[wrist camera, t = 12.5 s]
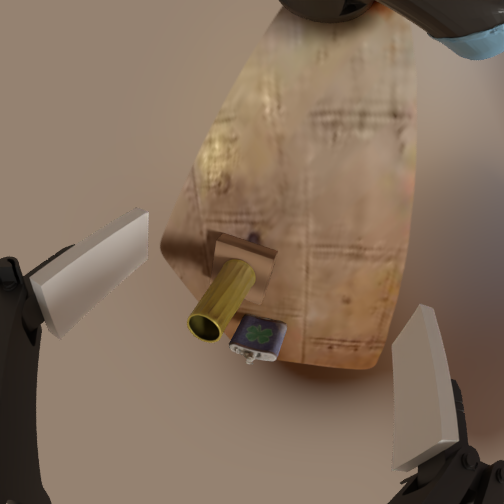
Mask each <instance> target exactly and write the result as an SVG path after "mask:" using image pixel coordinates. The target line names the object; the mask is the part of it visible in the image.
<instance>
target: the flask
mask: <svg viewBox="0 0 504 504" xmlns="http://www.w3.org/2000/svg"><path fill="white" fill-rule="evenodd" d="M286 330H287V324H285V323H283V322H281V321H274V320H271V319H269V318H261V317H256V316H255V315H250V314H246V315H245V316H244V317H243V318H242V320H241V322H240V324H239V326H238V328H237V330H236V332H235V334H234V335H233V337H232V339H231V341H230V343H229V348H230V349H231V351H233V352H236V353H238V354H241V355H244V356H245V358H247V361H248V362H246V363H247V364H250V363H249V362H252V361H253V360H254V359H259V360H267V361H275V360H276V359H277V356H278V353H279V350H280V347H281V344H282V341H283V339H284V336H285V333H286ZM252 364H253V363H252Z"/></svg>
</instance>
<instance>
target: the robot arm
mask: <svg viewBox="0 0 504 504" xmlns="http://www.w3.org/2000/svg"><path fill="white" fill-rule="evenodd" d="M279 1H280V2H281V4H282V5H283V6H284V7H286V8H287V9H288V10H289V11H291V12H292V13H294V14H296V15H298V16H300V17H302V18H305V19H308V20H312V21H316V22H323V23H337V22H344V21H348V20H351V19H354V18H356V17H358V16H360V15H362V14H363V13H365V12H366V11H367V10H368V9H369V8H370V7H371V5H372V4H373V2H374V0H279ZM376 1H377V2H379V3H381V4H383V5H385V6H387V7H388V8H390V9H392V10H393V11H395V12H397V13H398V14H400V15H402V16H403V17H405V18H407V19H408V20H410V21H411V22H413V23H415V24H416V25H418V26H419V27H420V28H422V29H423V30H425V31H426V32H427V34H428V35H429V36H430V37H431V38H432V39H435V40H437V41H439V42H441V43H442V44H444V45H445V46H447V47H448V48H449V49H451V50H452V51H453V52H455V53H456V54H457V55H459V56H461V57H463V58H467V59H470V60H483V59H487V58H491V57H493V56H496V55H498V54H500V53H502V52H503V51H504V0H376ZM148 216H149V211H146V210H143V209H140V208H134V209H133V210H131V211H129V212H127V213H126V214H124V215H122V216H121V217H119V218H117V219H116V220H114V221H112V222H111V223H109V224H108V225H106V226H104V227H103V228H101V229H99V230H98V231H96V232H95V233H93V234H91V235H90V236H88V237H87V238H86V239H84V240H82V241H81V242H79V243H78V244H76V245H75V244H74V245H71V246H68V247H65V248H63V249H62V250H60V251H59V252H57V253H56V254H55V255H53V256H51V257H50V258H48V260H46V261H44V262H43V263H41V264H40V265H39V266H37V267H36V268H34V269H33V270H32V271H30V272H29V273H28V274H26V275H25V276H22V272H21V269H20V266H19V262H18V260H17V259H16V258H14V257H4V258H1V259H0V504H6V503H8V504H51V501H50V498H49V496H48V495H47V493H46V491H45V490H44V488H43V486H42V482H41V476H40V469H39V459H38V448H37V431H36V388H37V371H38V359H39V349H40V341H41V333H42V329H41V325H40V324H41V323H43V322H44V321H45V323H46V325H47V328H48V330H49V331H50V332H51V333H52V334H53V335H55V336H56V337H57V338H59V339H62V338H63V337H64V336H65V334H66V333H68V331H70V330H71V329H72V328H73V327H74V326H75V325H76V324H77V323H78V322H79V321H80V320H81V319H82V318H83V317H84V316H85V315H86V314H87V313H88V312H89V311H91V309H93V308H94V307H95V306H96V305H97V304H98V303H99V302H100V301H101V300H102V299H103V298H104V297H106V296H107V295H108V294H109V293H110V292H111V291H112V290H113V289H114V288H115V287H117V286H118V285H119V284H120V283H121V282H122V281H123V280H124V279H125V278H127V277H128V276H129V275H130V274H131V273H132V272H133V271H135V270H136V269H137V268H138V267H139V266H140V265H142V264H143V263H144V262H145V261H146V260H147V259H148ZM392 356H393V375H394V376H393V377H394V437H393V456H392V467H391V468H392V469H391V470H392V471H406V472H408V471H410V470H412V469H414V468H415V467H417V466H418V473H417V474H415V475H413V476H411V477H409V478H406V479H404V480H403V481H402V482H400V484H403V483H406V482H407V483H406V485H405V486H404V487H403V488H402V489H401V490H400V491H399V492H398V493H397V494H396V495H395V496H394V497H393V499H392V500H391V501H390V502H389V503H388V504H504V461H503V460H499V461H497V462H495V463H494V464H492V465H487V464H485V463H483V462H481V461H480V458H479V455H478V452H477V451H476V449H475V448H473V447H472V446H469V445H468V438H467V428H466V421H465V413H463V412H464V407H463V404H462V395H461V390H460V389H459V386H458V384H457V382H456V380H453V379H451V378H450V373H449V368H448V364H447V359H446V355H445V350H444V346H443V342H442V338H441V334H440V331H439V327H438V323H437V320H436V317H435V313H434V310H433V308H431V307H428V306H425V305H423V304H420V305H419V306H418V308H417V309H416V311H415V312H414V314H413V315H412V317H411V318H410V320H409V321H408V323H407V324H406V326H405V327H404V329H403V330H402V332H401V333H400V334H399V336H398V337H397V339H396V340H395V341H394V343H393V344H392Z"/></svg>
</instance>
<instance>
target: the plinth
mask: <svg viewBox="0 0 504 504" xmlns="http://www.w3.org/2000/svg"><path fill="white" fill-rule="evenodd" d="M277 253H278V251H276V250H273V249H270V248H267V247H264V246H261V245H258V244H255V243H252V242H249V241H246V240H243V239H240V238H237V237H234V236H231V235H228V234H225V233H223V234H222V235H221V236H220V237H219V238H218V239H217V240H216V246H215V253H214V259H213V266H212V273H211V280H210V285H211V284H212V282H213V281H214V279H215V278H216V277H217V275H218V273H219V272H220V270H221V269H222V267H223V265H224V264H225V263H226V262H227V261H229V260H232V259H238V260H242V261H244V262H246V263H248V264H249V265H250V266H251V267H252V269H253V270H254V272H255V276H256V280H255V283H254V285H253V286H252V287H251V289H250V290H249V292H248V294H247V295H246V297H245V298H244V300H247V301H250V302H253V303H255V304H258V305H261V303H262V301H263V299H264V297H265V294H266V291H267V287H268V284H269V280H270V277H271V274H272V270H273V267H274V263H275V260H276V257H277Z"/></svg>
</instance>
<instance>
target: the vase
mask: <svg viewBox="0 0 504 504" xmlns="http://www.w3.org/2000/svg"><path fill="white" fill-rule="evenodd" d="M255 280H256V276H255V272H254V270H253V269H252V267H251V266H250V265H249V264H248V263H246V262H244V261H242V260H238V259H232V260H229V261H227V262H226V263H225V264H224V265H223V267H222V269H221V270H220V272H219V273H218V275H217V277H216V278H215V279H214V281H213V282H212V284H211V285H210V287H209V288H208V290H207V291H206V293H205V294H204V296H203V297H202V299H201V300H200V301H199V303H198V304H197V306H196V307H195V309H194V310H193V312H192V313H191V315H190V316H189V317H188V320H187V326H188V329H189V330H190V332H191V333H192V334H193V335H194V336H195V337H196V338H198V339H200V340H202V341H205V342H211V343H212V342H217V341H218V340H220V338H221V336H222V334H223V332H224V330H225V328H226V327H227V325H228V323H229V321H230V320H231V318H232V317H233V316H234V314H235V313H236V311H237V310H238V308H239V307H240V305H241V303H242V301H243V299H244V298H245V297H246V295H247V294H248V292H249V290H250V289H251V287H252V286H253V285H254V283H255Z"/></svg>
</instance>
